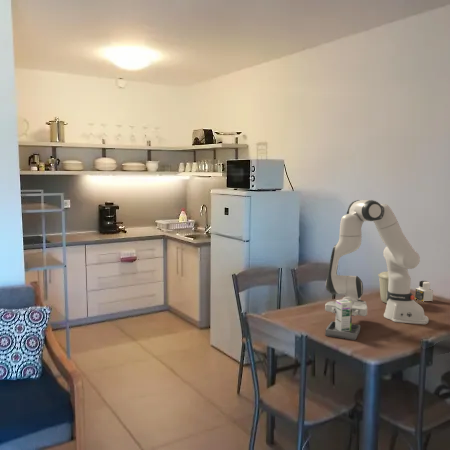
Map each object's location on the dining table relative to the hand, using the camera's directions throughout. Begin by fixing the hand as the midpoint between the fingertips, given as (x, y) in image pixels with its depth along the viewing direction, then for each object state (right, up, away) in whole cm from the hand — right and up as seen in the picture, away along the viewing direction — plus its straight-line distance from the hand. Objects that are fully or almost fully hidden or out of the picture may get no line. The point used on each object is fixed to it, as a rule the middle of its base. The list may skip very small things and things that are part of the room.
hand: (343, 312), depth 222 cm
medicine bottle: (+65, -5, +63) cm, 91 cm away
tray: (0, -10, +2) cm, 10 cm away
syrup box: (0, -9, +2) cm, 9 cm away
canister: (+44, -5, +57) cm, 73 cm away
